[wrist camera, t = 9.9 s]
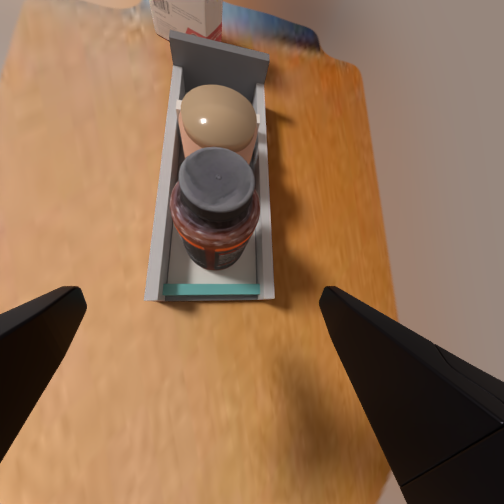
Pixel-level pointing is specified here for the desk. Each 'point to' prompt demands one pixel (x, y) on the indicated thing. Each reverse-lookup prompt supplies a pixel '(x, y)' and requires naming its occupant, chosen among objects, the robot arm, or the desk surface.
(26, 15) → the desk surface
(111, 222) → the desk surface
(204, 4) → the ink cartridge box
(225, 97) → the terracotta jar
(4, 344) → the robot arm
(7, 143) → the desk surface
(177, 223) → the supplement bottle
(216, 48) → the pusher lane
